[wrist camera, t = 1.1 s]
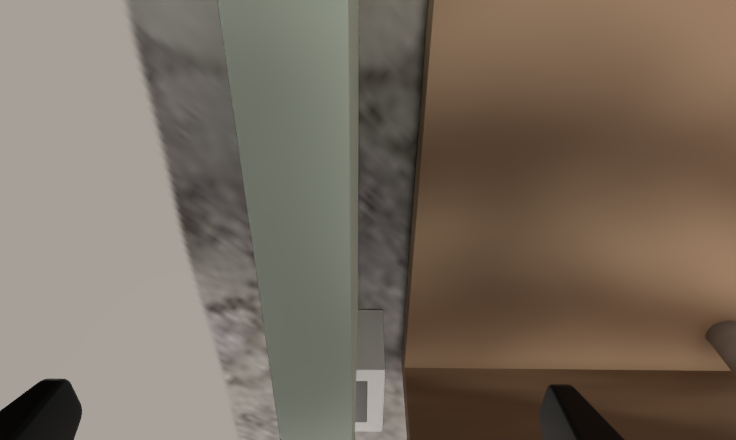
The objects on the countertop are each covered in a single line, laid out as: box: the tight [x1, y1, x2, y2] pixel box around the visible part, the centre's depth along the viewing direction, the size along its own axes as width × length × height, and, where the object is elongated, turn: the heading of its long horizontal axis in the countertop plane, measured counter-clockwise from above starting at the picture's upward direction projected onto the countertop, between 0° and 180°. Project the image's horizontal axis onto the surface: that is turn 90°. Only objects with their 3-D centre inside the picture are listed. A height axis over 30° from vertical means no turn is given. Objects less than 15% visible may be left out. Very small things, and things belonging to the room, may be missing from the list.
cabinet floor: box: [402, 0, 736, 440], centre depth 14 cm, size 20×14×5 cm
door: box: [217, 0, 385, 440], centre depth 13 cm, size 18×4×8 cm, turn 179°
